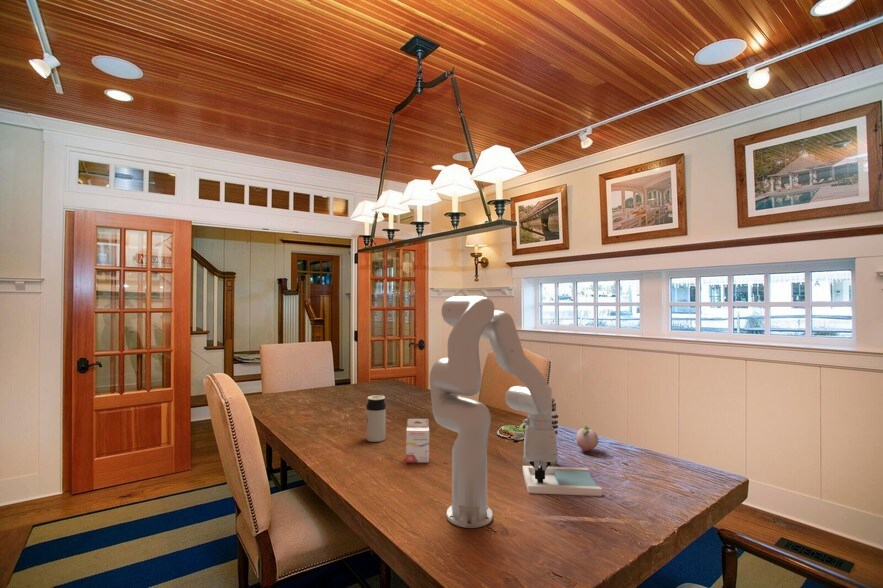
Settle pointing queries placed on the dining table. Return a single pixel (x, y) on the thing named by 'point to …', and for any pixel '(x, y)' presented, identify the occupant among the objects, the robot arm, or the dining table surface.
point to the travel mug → (376, 418)
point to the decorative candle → (553, 426)
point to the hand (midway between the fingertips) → (539, 481)
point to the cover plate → (574, 478)
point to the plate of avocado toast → (514, 431)
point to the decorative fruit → (586, 439)
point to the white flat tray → (552, 486)
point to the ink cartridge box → (417, 441)
